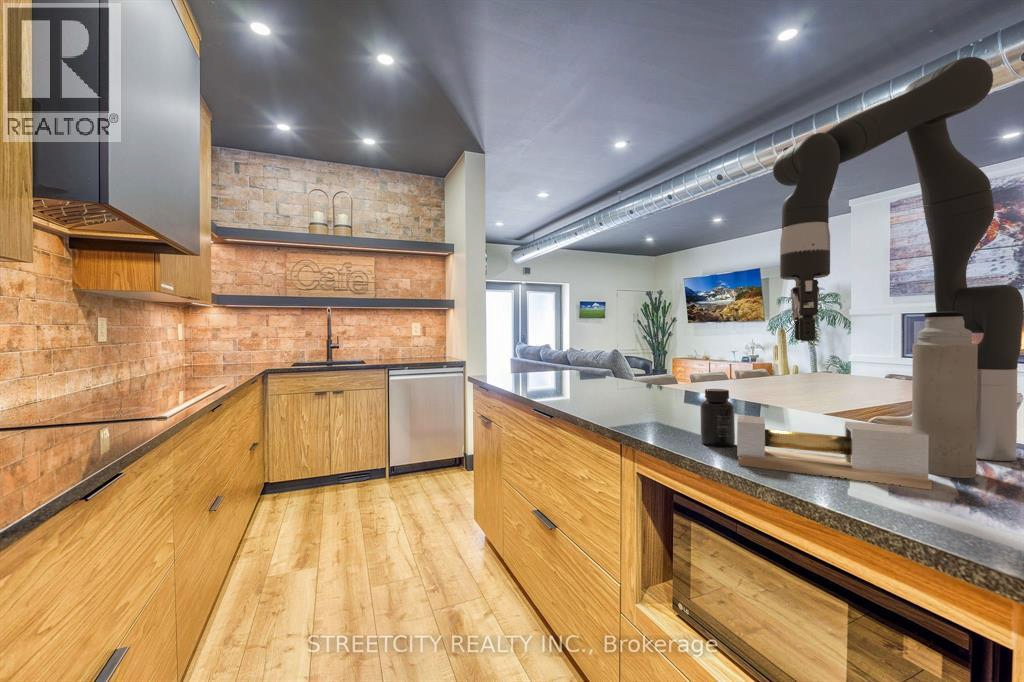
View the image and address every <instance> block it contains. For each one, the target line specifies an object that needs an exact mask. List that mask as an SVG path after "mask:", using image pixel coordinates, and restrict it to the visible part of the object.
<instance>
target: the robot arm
mask: <svg viewBox="0 0 1024 682" xmlns="http://www.w3.org/2000/svg"><path fill="white" fill-rule="evenodd" d="M993 83H994V72H993V70H992V68H991V66H990V64H989V63H988V62H987V61H986V60H985V59H983V58H981V57H978V56H977V57H976V56H967V57H962V58H961V57H960V58H958V59H956V60H953V61H950V62H948V63H946V64H945V65H942V66H941V67H938V68H937V69H935V70H933V71H931V72H929V73H928V74H925V75H923V76H921V77H920V78H918V79H917V78H916V79H915V80H914V81H913V82H911V83H910V84H909V85H907V87H905V89H904V90H903V93H902V94H901V95H898V96H897V97H896V96H895V97H894V98H892V99H889V100H887V101H884V102H883V103H880V104H878V105H875V106H873V107H870V108H868V109H866V110H863V111H861V112H858V113H857V114H854V115H852V116H851V117H848V118H847V119H844V120H843V121H841V122H839V123H838V122H837V124H835V125H833V126H832V127H830V128H828V129H827V130H825V131H824V132H816V133H813V134H810V135H808V136H807V137H805V138H804V139H802V140H800V141H798V142H797V143H795V144H794V145H792V146H790V147H788V148H787V149H785V150H783V151H782V152H781V153H780V154H779V155H778V156H777V158H776V159H775V161H774V163H773V166H772V174H773V177H774V179H775V180H776V181H777V182H778V183H779V184H781V185H784V186H787V187H793V186H795V189H794V190H793V192H792V193H791V194H790V195H788V196H787V197H786V198H785V199H784V200H783V202H782V207H781V236H780V242H779V243H780V244H779V246H780V247H779V249H780V250H779V251H780V253H779V254H780V256H779V259H780V260H779V261H780V262H779V271H780V273H779V274H780V275H779V277H780V279H782V280H786V281H787V280H788V281H792V280H793V281H795V286H793V287H792V288H791V289H790V299H791V311H792V314H791V315H792V318H793V321H794V339H795V340H796V341H801V342H813V341H814V340H815V339H816V319H817V317H818V313H819V309H818V308H819V293H820V287H819V280H818V279H821V278H825V277H828V276H829V275H830V274H831V232H830V226H829V222H830V220H829V219H830V218H829V217H830V216H829V214H830V213H829V200H830V197H831V193H832V191H833V189H834V188H833V187H834V186H835V185H834V184H835V181H836V177H837V173H838V170H839V166H840V164H842V163H846V162H848V161H851V160H853V159H855V158H858V157H859V156H861V155H864V154H866V153H868V152H869V151H871V150H874V149H875V148H877V147H879V146H882V145H883V144H885V143H888V142H889V141H891V140H893V139H895V138H896V137H899V136H900V135H902V134H904V133H906V135H907V138H908V141H909V143H910V146H911V147H910V148H911V150H912V153H913V157H914V162H915V165H916V170H917V176H918V180H919V185H920V190H921V191H920V192H921V197H922V206H923V213H924V218H925V219H924V220H925V223H926V228H927V232H928V238H929V244H930V251H931V257H932V264H933V281H934V282H933V283H934V285H933V286H934V301H935V312H964V316H962V317H963V320H964V327H965V328H966V329H968V330H970V331H971V332H972V334H983V335H982V339H981V340H980V342H978V343H976V344H977V345H978V357H977V405H976V422H977V446H976V459H978V460H988V461H997V462H1012V461H1016V460H1017V443H1018V442H1017V441H1018V440H1017V438H1018V434H1017V433H1018V432H1017V431H1018V361H1019V357H1020V354H1021V347H1022V335H1023V334H1022V332H1023V323H1024V298H1023V295H1022V293H1021V292H1020V290H1019V289H1018V288H1017V287H1015V286H1014V285H1010V284H993V285H982V286H971V287H970V286H969V287H968V283H967V268H968V264H969V261H970V258H971V257H972V254H973V253H974V251H975V249H976V248H977V246H978V244H979V243H980V242H981V240H983V237H984V236H985V234H986V233H987V231H988V229H989V228H990V226H991V224H992V222H993V220H994V216H995V204H994V198H993V191H992V186H991V181H990V179H989V178H988V176H987V175H986V173H985V172H983V170H981V168H980V167H978V166H977V165H976V164H974V163H973V161H971V160H970V159H969V158H967V157H966V156H964V155H963V154H962V153H961V152H960V151H959V150H958V149H957V148H956V147H955V145H954V144H953V142H952V139H951V138H950V133H949V130H948V126H947V119H949V118H951V117H953V116H956V115H959V114H962V113H964V112H966V111H968V110H970V109H972V108H974V107H975V106H977V105H979V104H980V103H981V102H982V101H983V100H985V98H986V97H987V96H988V94H989V93H990V92H991V89H992V87H993Z"/></svg>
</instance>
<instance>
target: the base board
mask: <svg viewBox="0 0 1024 682" xmlns="http://www.w3.org/2000/svg"><path fill="white" fill-rule="evenodd" d="M738 466H744V467H751V468H757V469H758V468H760V469H768V470H772V471H773V470H774V471H775V470H776V471H781V470H782V472H789V473H790V472H791V473H799V474H805V473H806V474H805V475H807V474H808V475H814V476H820V475H823V476H822V477H828V476H832V477H831V478H836V477H840V478H839V479H844V478H847V479H846V480H854V481H861V482H868V481H870V482H869V483H875V482H878V483H877V484H883V483H887V484H886V485H891V484H894V485H893V486H899V485H901V487H908V488H915V489H916V488H917V489H924V490H932V486H933V483H932V482H933V481H932V480H930V479H929V478H928V479H926V478H918V477H909V476H901V475H892V474H884V473H876V472H867V471H859V470H852V469H851V462H848V461H845V456H837V455H836V456H835V455H828V454H827V455H826V454H818V453H817V454H816V453H809V452H808V453H806V452H799V451H798V452H797V451H789V450H780V449H772V448H771V449H770V448H765V460H764V459H756V458H748V457H739V456H738Z"/></svg>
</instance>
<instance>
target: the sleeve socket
mask: <svg viewBox="0 0 1024 682" xmlns="http://www.w3.org/2000/svg"><path fill="white" fill-rule="evenodd" d="M736 420H737V421H736V423H737V424H736V426H737V427H736V430H737V432H736V433H737V435H736V437H737V439H736V440H737V441H736V443H737V445H736V446H737V447H736V448H737V449H736V450H737V451H736V452H737V456H736V457H738V458H739V457H748V458H756V459H764V460H765V449H766V446H765V429H766V421H765V417H764V416H752V415H739V414H738V416H737V419H736ZM844 436H847V437H851V455H844V457H845V461H848V462H851V469H852V470H859V471H867V472H876V473H884V474H892V475H901V476H909V477H918V478H926V479H929V473H928V440H929V435H928V434H926V433H925V432H923V431H921V430H919V429H918V428H916V427H912V425H910V426H909V425H896V424H886V423H885V424H883V423H872V422H871V423H870V422H869V423H868V422H856V421H844Z"/></svg>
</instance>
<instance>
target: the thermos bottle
mask: <svg viewBox="0 0 1024 682" xmlns="http://www.w3.org/2000/svg"><path fill="white" fill-rule="evenodd" d="M962 316H964V312H936V311H931V312H925V313H924V318H925V321H924V328H923V329H920V330H919V331H917V334H918V335H917V337H916V339H917V342H915V343H913V344H912V375H911V376H912V377H911V378H912V379H911V380H912V385H911V386H912V387H911V391H912V395H911V396H912V398H911V400H912V401H911V404H912V407H911V416H912V417H911V421H912V423H911V426H912V427H916V428H918V429H919V430H921V431H923V432H925V433H926V434H928V435H929V440H928V474H932V475H937V476H942V477H948V478H957V479H973V478H975V477H976V476H977V458H976V446H977V422H976V405H977V357H978V345H977V344H978V343H975V342H972V341H973V337H974V336H973V333H972V332H971V331H970V330H968V329H966V328H965V327H964V320H963V317H962Z"/></svg>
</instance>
